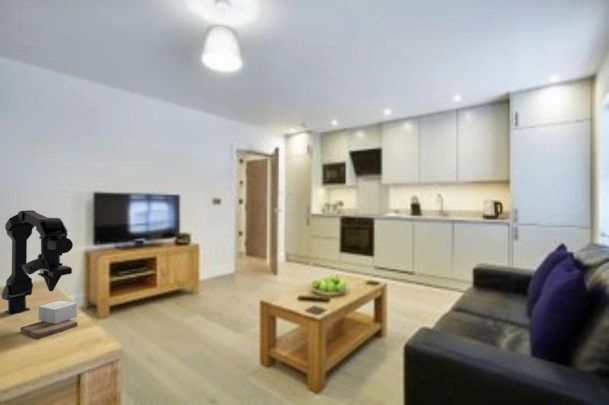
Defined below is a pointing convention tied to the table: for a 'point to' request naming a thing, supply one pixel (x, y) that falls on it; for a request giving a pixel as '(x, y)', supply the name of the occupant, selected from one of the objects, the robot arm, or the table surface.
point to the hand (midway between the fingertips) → (51, 291)
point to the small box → (57, 312)
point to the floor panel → (47, 328)
